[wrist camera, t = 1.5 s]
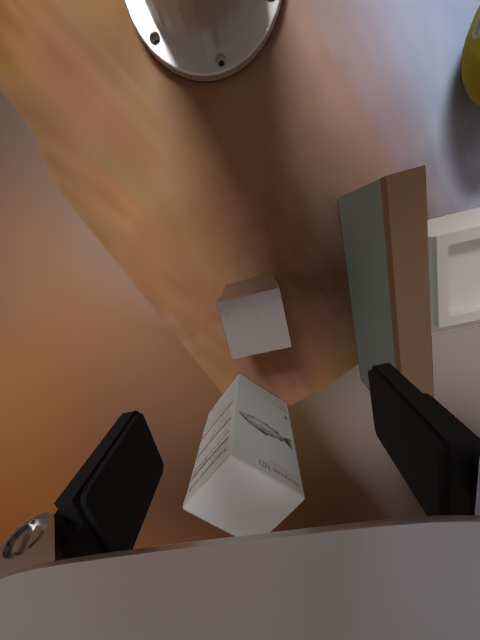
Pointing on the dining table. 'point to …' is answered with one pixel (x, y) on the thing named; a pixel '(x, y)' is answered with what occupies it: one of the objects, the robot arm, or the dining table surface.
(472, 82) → the lemon
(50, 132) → the dining table surface
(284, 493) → the supplement box
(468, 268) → the cradle
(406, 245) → the door board
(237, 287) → the block
